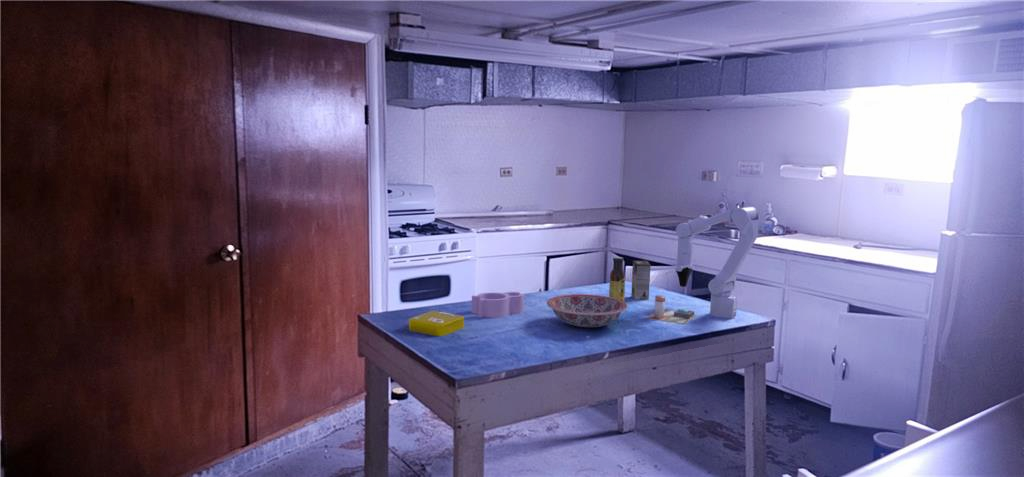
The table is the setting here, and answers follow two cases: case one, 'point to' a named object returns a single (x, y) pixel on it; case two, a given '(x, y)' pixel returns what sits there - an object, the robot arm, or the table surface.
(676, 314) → the button housing
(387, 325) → the table surface
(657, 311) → the cylinder
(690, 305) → the table surface
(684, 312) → the button
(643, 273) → the coffee box
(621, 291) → the sauce bottle
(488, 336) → the table surface
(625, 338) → the table surface
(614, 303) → the ceramic bowl
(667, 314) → the beige flat square board
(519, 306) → the pink lobed tray
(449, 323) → the element tile
